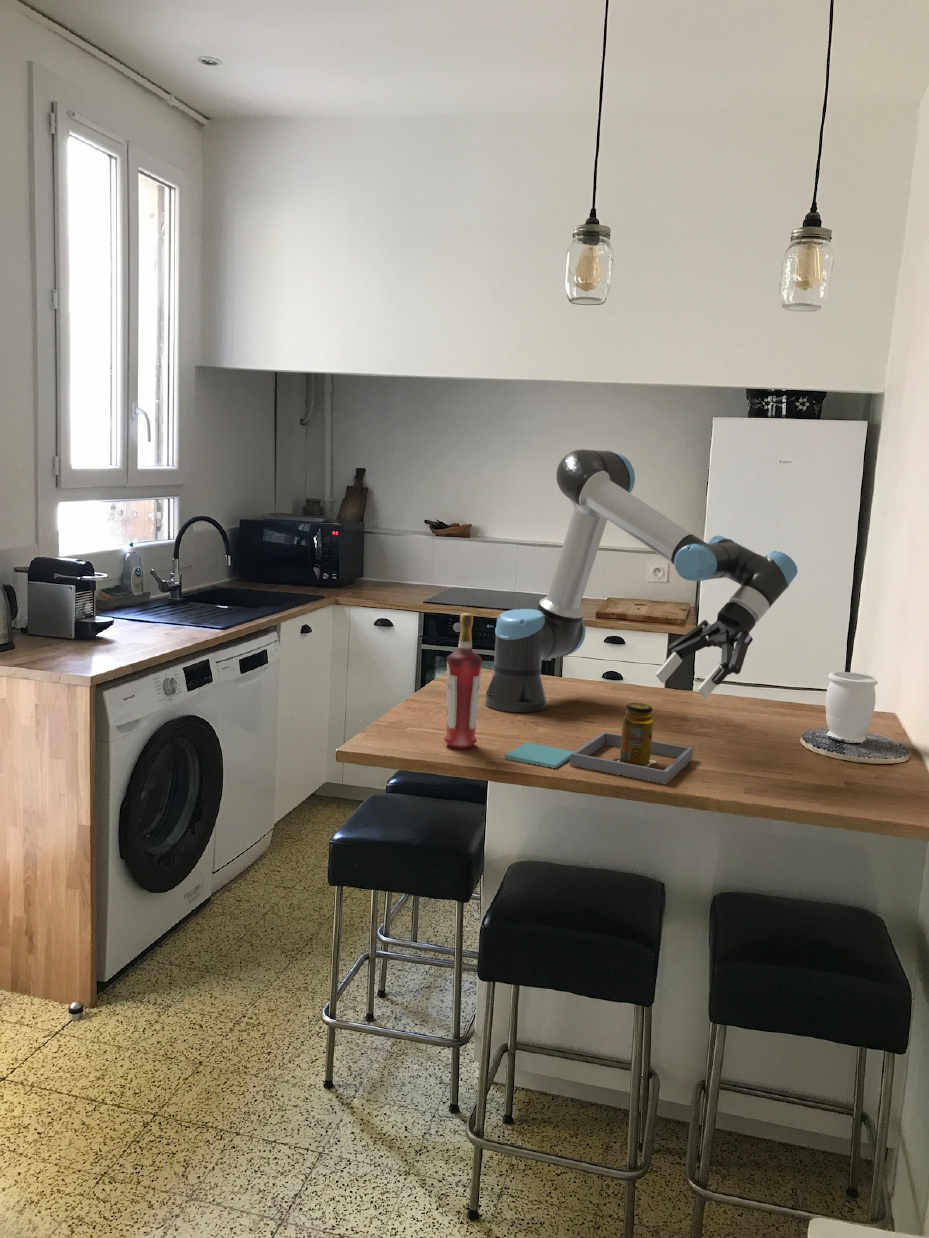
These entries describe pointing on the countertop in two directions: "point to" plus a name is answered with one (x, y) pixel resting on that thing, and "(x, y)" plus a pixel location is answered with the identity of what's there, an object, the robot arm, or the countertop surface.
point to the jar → (850, 705)
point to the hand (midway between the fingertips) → (679, 686)
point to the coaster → (539, 755)
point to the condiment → (636, 735)
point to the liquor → (463, 689)
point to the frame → (645, 773)
